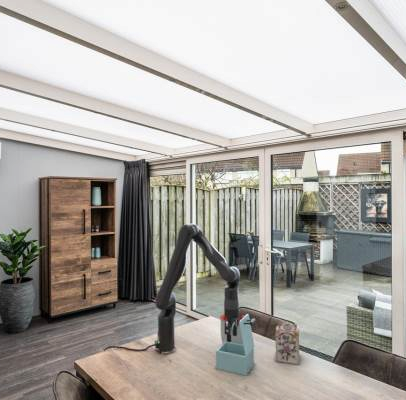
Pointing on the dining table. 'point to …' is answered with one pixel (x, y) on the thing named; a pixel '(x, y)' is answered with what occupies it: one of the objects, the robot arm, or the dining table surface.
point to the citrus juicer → (234, 339)
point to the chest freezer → (234, 358)
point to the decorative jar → (287, 343)
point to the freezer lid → (247, 333)
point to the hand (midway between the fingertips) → (232, 338)
